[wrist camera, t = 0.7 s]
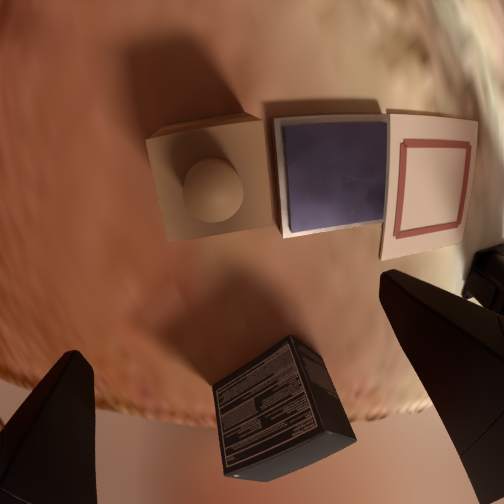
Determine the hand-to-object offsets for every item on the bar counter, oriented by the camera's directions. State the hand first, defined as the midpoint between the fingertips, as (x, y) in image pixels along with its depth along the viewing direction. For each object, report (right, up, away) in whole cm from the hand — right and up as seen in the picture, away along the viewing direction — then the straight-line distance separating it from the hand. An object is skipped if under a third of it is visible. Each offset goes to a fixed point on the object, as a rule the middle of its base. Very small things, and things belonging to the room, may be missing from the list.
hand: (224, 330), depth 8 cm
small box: (+2, -10, +22) cm, 24 cm away
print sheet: (+16, +7, +14) cm, 22 cm away
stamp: (-2, +8, +10) cm, 13 cm away
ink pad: (+6, +8, +12) cm, 15 cm away
